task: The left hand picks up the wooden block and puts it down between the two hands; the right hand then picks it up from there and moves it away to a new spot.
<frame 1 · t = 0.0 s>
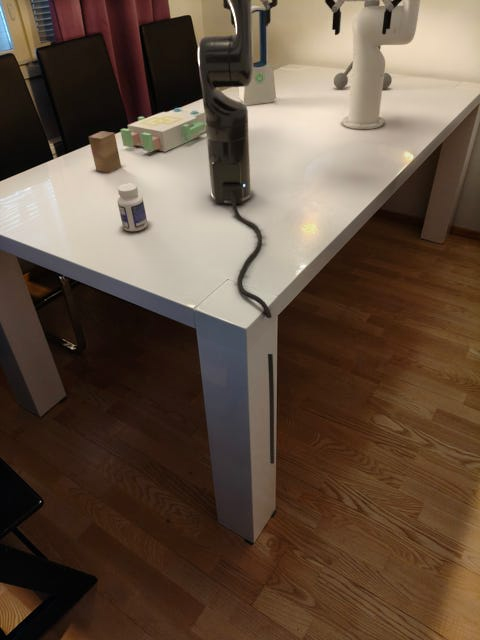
left hand: (251, 26, 133), 29 cm above the table, tool pointing down, fingers open, 8 cm apart
right hand: (360, 33, 102), 31 cm above the table, tool pointing down, fingers open, 9 cm apart
electronic device: (257, 101, 182), on the table
block: (108, 168, 134), on the table
molecular model: (358, 86, 194), on the table
decorative block: (167, 140, 151), on the table
pill bottle: (135, 227, 105), on the table
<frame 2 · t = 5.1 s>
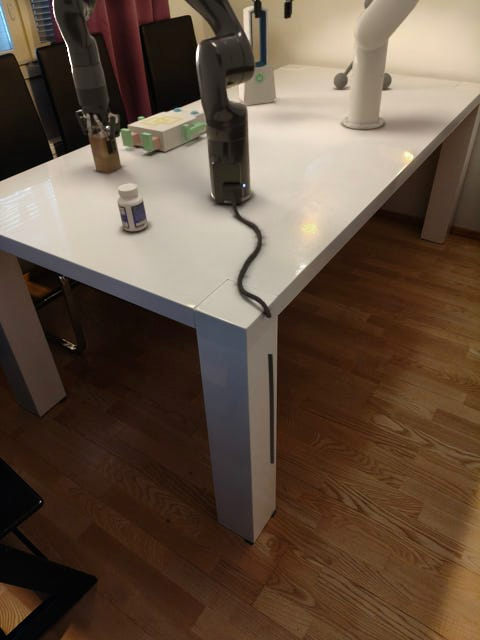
left hand: (105, 152, 131), 5 cm above the table, tool pointing down, fingers closed on block, 4 cm apart
right hand: (272, 17, 143), 30 cm above the table, tool pointing down, fingers open, 9 cm apart
block: (108, 168, 134), on the table, touching left hand
everything else where it was.
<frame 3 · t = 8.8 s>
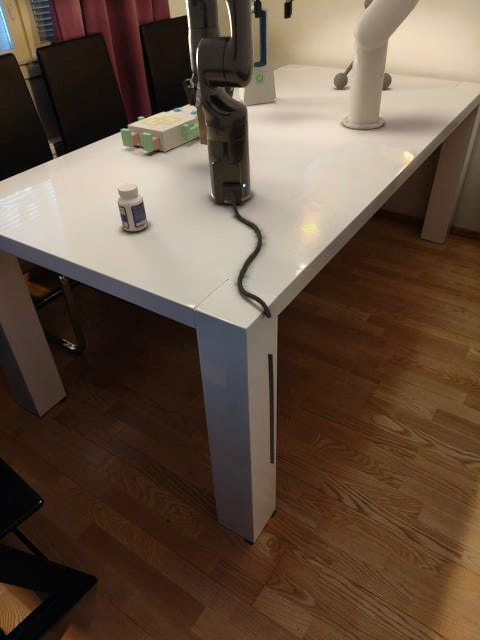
left hand: (211, 124, 124), 11 cm above the table, tool pointing down, fingers closed on block, 4 cm apart
right hand: (272, 17, 143), 30 cm above the table, tool pointing down, fingers open, 9 cm apart
block: (212, 142, 127), point 7 cm above the table, touching left hand
everything else where it was.
when the left hand's fingers open (6 cm above the table, at t = 13.0 s): block drops 1 cm, on the table.
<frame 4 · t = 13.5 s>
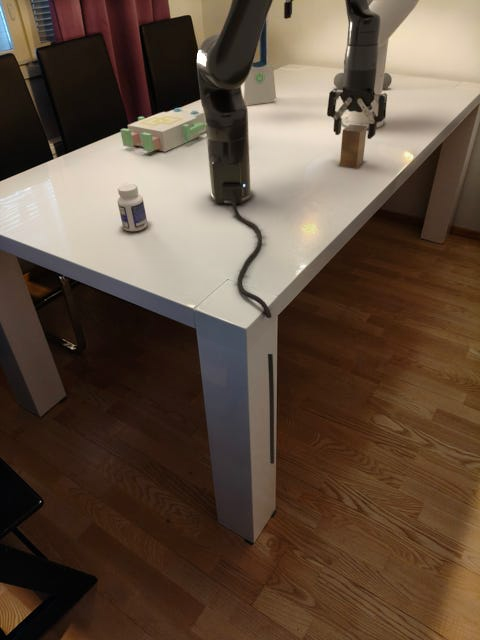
left hand: (353, 136, 124), 7 cm above the table, tool pointing down, fingers open, 8 cm apart
right hand: (272, 17, 143), 30 cm above the table, tool pointing down, fingers open, 9 cm apart
block: (351, 163, 128), on the table
everything else where it was.
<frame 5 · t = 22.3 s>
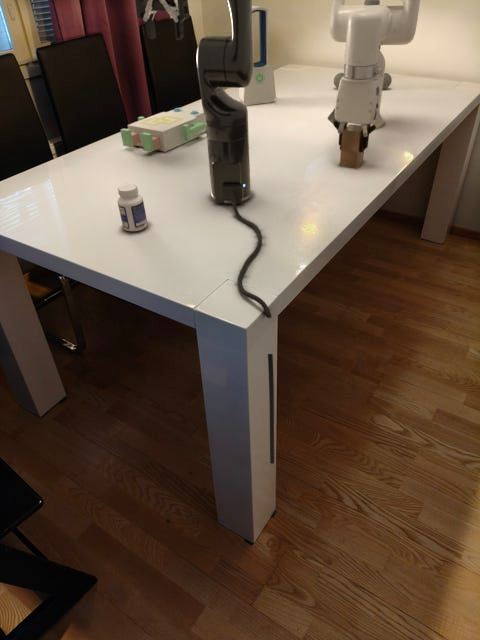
left hand: (165, 39, 122), 29 cm above the table, tool pointing down, fingers open, 8 cm apart
right hand: (352, 148, 126), 4 cm above the table, tool pointing down, fingers closed on block, 4 cm apart
block: (351, 163, 128), on the table, touching right hand
everything else where it was.
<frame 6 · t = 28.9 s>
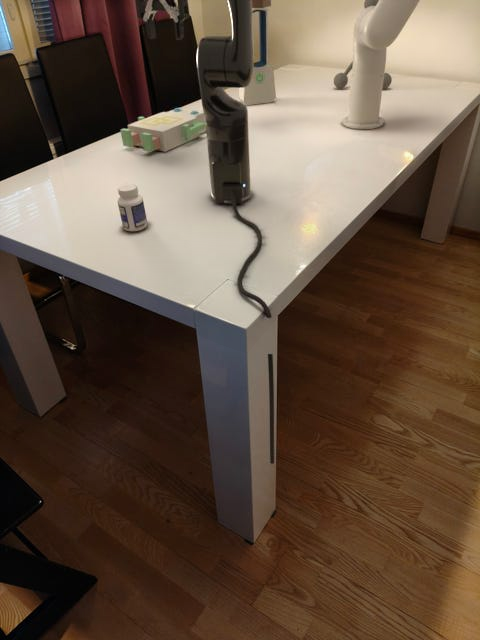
left hand: (165, 39, 122), 29 cm above the table, tool pointing down, fingers open, 8 cm apart
block: (259, 7, 135), point 33 cm above the table, touching right hand
everything else where it was.
when the right hand's fingers open (5 cm above the table, at t = 35.8 s): block drops 1 cm, on the table.
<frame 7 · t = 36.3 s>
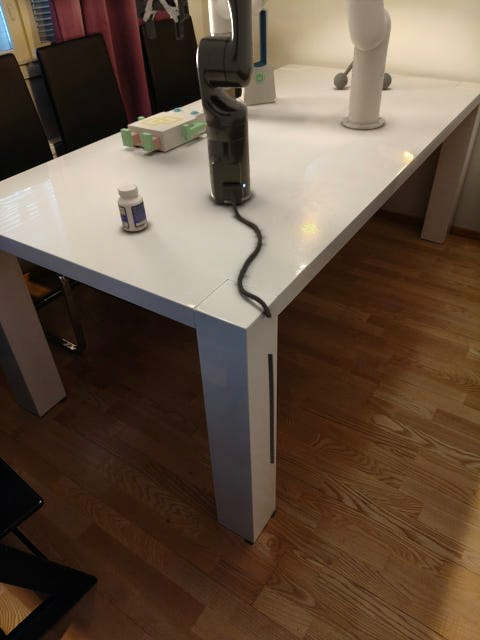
left hand: (165, 39, 122), 29 cm above the table, tool pointing down, fingers open, 8 cm apart
right hand: (226, 96, 166), 6 cm above the table, tool pointing down, fingers open, 9 cm apart
block: (227, 115, 169), on the table
everything else where it was.
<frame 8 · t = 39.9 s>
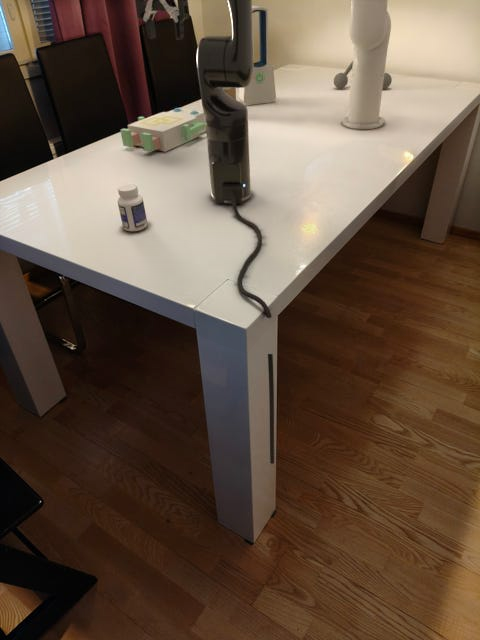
left hand: (165, 39, 122), 29 cm above the table, tool pointing down, fingers open, 8 cm apart
nothing on the table moved.
at the end: block inside the target area (0.1 cm from its centre), on the table; block tilted 0°; the two hands never held the block at the same time; the left hand is holding nothing; the right hand is holding nothing; block at rest at the end (0.0 cm/s) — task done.
